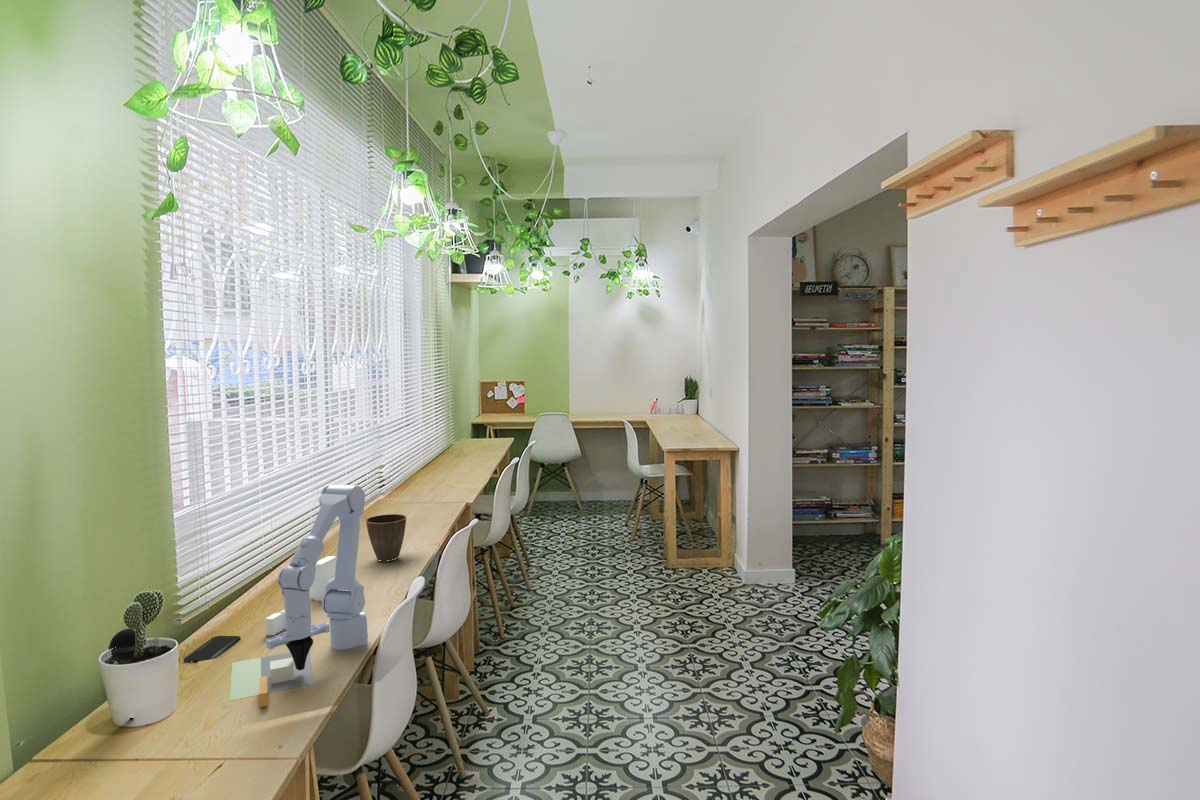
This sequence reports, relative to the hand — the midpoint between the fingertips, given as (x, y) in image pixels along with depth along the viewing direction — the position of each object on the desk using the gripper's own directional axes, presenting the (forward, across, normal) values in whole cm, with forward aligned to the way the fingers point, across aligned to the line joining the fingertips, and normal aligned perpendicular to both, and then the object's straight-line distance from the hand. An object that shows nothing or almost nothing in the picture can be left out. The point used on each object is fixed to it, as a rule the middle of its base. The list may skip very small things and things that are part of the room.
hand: (300, 668), depth 172 cm
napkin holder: (+3, -10, -36) cm, 37 cm away
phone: (+3, +9, -34) cm, 36 cm away
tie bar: (+1, +11, +6) cm, 13 cm away
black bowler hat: (+3, +34, -8) cm, 35 cm away
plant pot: (+2, -65, -75) cm, 100 cm away
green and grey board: (+2, +4, -6) cm, 8 cm away
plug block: (+1, +4, -2) cm, 4 cm away
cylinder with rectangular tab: (+3, -31, -53) cm, 61 cm away
